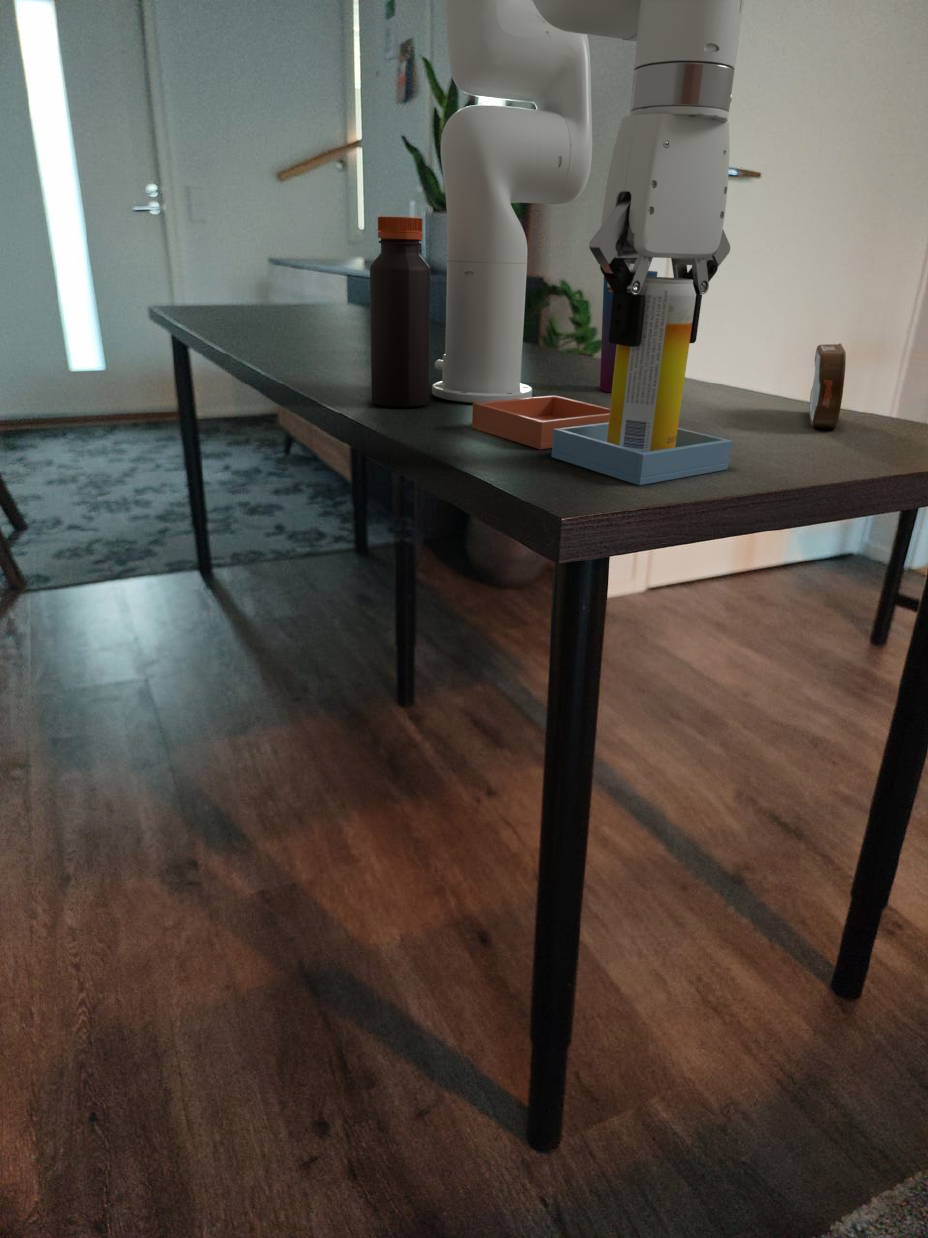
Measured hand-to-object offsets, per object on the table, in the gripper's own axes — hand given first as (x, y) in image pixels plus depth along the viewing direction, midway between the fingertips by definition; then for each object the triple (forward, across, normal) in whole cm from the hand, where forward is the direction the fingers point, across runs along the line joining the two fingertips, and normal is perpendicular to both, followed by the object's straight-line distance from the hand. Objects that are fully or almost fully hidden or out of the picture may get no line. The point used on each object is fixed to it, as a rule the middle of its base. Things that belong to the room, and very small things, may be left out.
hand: (652, 341), depth 73 cm
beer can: (+10, 0, 0) cm, 10 cm away
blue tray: (+11, 0, 0) cm, 11 cm away
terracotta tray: (+11, -1, -14) cm, 18 cm away
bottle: (+11, +4, -35) cm, 37 cm away
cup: (+11, -28, -31) cm, 43 cm away
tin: (+11, -34, -4) cm, 36 cm away
